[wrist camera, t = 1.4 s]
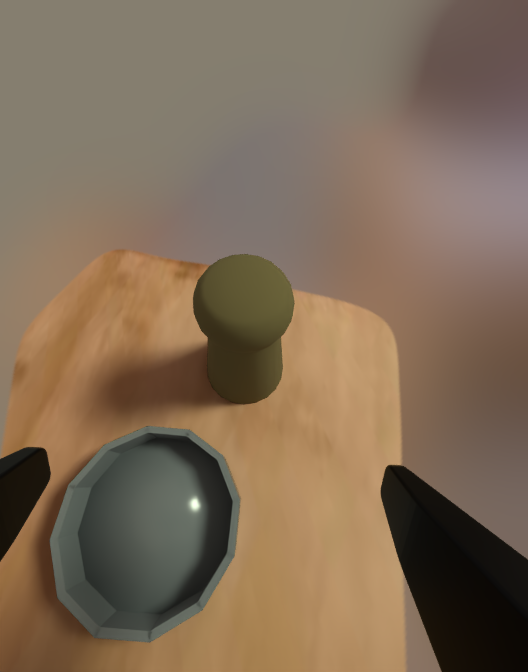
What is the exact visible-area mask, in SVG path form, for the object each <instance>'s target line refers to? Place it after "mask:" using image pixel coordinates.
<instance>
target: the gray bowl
mask: <svg viewBox="0 0 528 672" xmlns="http://www.w3.org/2000/svg"><path fill="white" fill-rule="evenodd" d="M240 502H241V497H240V495H239V492H238V490H237V487H236V485H235V482H234V479H233V477H232V474H231V472H230V469H229V467H228V464H227V461H226V459H225V457H224V456H223V455H222V454H220V453H219V452H218V451H216V450H215V449H214V448H212V447H211V446H210V445H209V444H207V443H206V442H205V441H203V440H202V439H201V438H200V437H198V436H197V435H196V434H194V433H193V432H192V431H190V430H187V429H176V428H165V427H153V426H146V427H144V428H142V429H140V430H137V431H135V432H133V433H130V434H128V435H126V436H124V437H121V438H119V439H117V440H114V441H112V442H110V443H108V444H105V445H104V446H103V447H102V448H101V449H100V450H99V451H98V453H97V454H96V455H95V456H94V457H93V458H92V459H91V460H90V461H89V463H88V464H87V465H86V466H85V467H84V468H83V469H82V470H81V472H80V473H79V474H78V475H77V476H76V477H75V478H74V479H73V480H72V482H71V483H70V484H69V485H68V488H67V491H66V493H65V496H64V499H63V502H62V505H61V508H60V511H59V514H58V517H57V520H56V523H55V526H54V529H53V532H52V535H51V538H50V547H51V555H52V562H53V569H54V577H55V584H56V591H57V598H58V599H59V600H60V601H61V602H62V604H63V605H64V606H65V607H66V608H67V609H68V610H69V611H70V612H71V613H72V614H73V615H74V616H75V617H76V619H77V620H78V621H79V622H80V623H81V624H82V625H83V626H84V627H85V628H86V629H87V630H88V631H89V632H90V634H91V635H92V636H93V637H94V638H102V639H114V640H127V641H139V642H151V641H153V640H155V639H156V638H158V637H160V636H161V635H163V634H164V633H166V632H168V631H169V630H171V629H173V628H174V627H176V626H177V625H179V624H181V623H182V622H184V621H186V620H187V619H189V618H191V617H192V616H194V615H195V614H197V613H199V612H200V611H202V610H203V608H204V607H205V605H206V603H207V602H208V600H209V598H210V596H211V595H212V593H213V591H214V590H215V588H216V586H217V585H218V583H219V581H220V580H221V578H222V576H223V575H224V573H225V571H226V570H227V568H228V566H229V564H230V563H231V561H232V559H233V558H234V556H235V550H236V542H237V532H238V522H239V512H240Z"/></svg>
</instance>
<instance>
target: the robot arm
mask: <svg viewBox="0 0 528 672" xmlns="http://www.w3.org/2000/svg"><path fill="white" fill-rule="evenodd" d="M50 475H51V472H50V466H49V461H48V456H47V452H46V450H45V449H44V448H41V447H26V448H23V449H21V450H19V451H17V452H14V453H12V454H10V455H8V456H6V457H4V458H1V459H0V561H1V560H2V558H3V557H4V555H5V554H6V552H7V551H8V549H9V548H10V546H11V545H12V543H13V542H14V540H15V539H16V537H17V535H18V534H19V532H20V530H21V529H22V527H23V525H24V523H25V522H26V520H27V518H28V517H29V515H30V513H31V512H32V510H33V508H34V506H35V505H36V503H37V501H38V500H39V498H40V496H41V494H42V493H43V491H44V489H45V488H46V486H47V484H48V482H49V480H50ZM381 499H382V502H383V506H384V509H385V513H386V517H387V520H388V524H389V527H390V531H391V534H392V538H393V541H394V545H395V548H396V552H397V555H398V558H399V561H400V564H401V567H402V570H403V573H404V575H405V578H406V580H407V583H408V585H409V588H410V591H411V593H412V596H413V598H414V601H415V604H416V606H417V609H418V611H419V614H420V617H421V619H422V622H423V624H424V627H425V629H426V632H427V635H428V637H429V640H430V643H431V645H432V648H433V650H434V653H435V656H436V658H437V661H438V663H439V666H440V668H441V671H442V672H528V560H527V559H526V558H525V557H524V556H522V555H521V554H520V553H518V552H517V551H516V550H514V549H513V548H512V547H510V546H509V545H508V544H506V543H505V542H504V541H502V540H501V539H500V538H499V537H497V536H496V535H495V534H493V533H492V532H491V531H489V530H488V529H486V528H485V527H484V526H483V525H481V524H480V523H478V522H477V521H476V520H475V519H473V518H472V517H470V516H469V515H468V514H467V513H465V512H464V511H463V510H461V509H460V508H459V507H458V506H456V505H455V504H454V503H452V502H451V501H450V500H448V499H447V498H446V497H444V496H443V495H442V494H440V493H439V492H438V491H436V490H435V489H434V488H432V487H431V486H430V485H428V484H427V483H426V482H424V481H423V480H422V479H420V478H419V477H418V476H416V475H415V474H414V473H412V472H411V471H410V470H408V469H407V468H406V467H404V466H401V465H388V466H387V467H386V469H385V473H384V477H383V481H382V486H381Z"/></svg>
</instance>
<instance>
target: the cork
mask: <svg viewBox="0 0 528 672" xmlns="http://www.w3.org/2000/svg"><path fill="white" fill-rule="evenodd" d="M193 309H194V315H195V318H196V320H197V322H198V324H199V327H200V329H201V331H202V332H203V333H204V334H205V335H206V336H207V337H208V354H207V370H208V378H209V380H210V383H211V385H212V387H213V388H214V390H215V391H216V392H217V393H218V394H219V395H220V396H221V397H223V398H225V399H227V400H229V401H230V402H234V403H240V404H249V403H256V402H258V401H260V400H262V399H264V398H267V397H268V396H269V395H270V394H271V393H272V392H273V391H274V390H275V389H276V387H277V386H278V384H279V382H280V380H281V376H282V369H283V364H282V347H281V336H282V335H283V334H284V333H285V331H286V329H287V327H288V326H289V324H290V322H291V319H292V316H293V309H294V297H293V292H292V288H291V284H290V282H289V281H288V279H287V278H286V276H285V275H284V273H283V272H282V271H281V270H280V269H279V268H278V267H277V266H275V265H274V264H273V263H272V262H271V261H268V260H266V259H264V258H262V257H259V256H254V255H248V254H240V255H232V256H229V257H225V258H223V259H220V260H218V261H217V262H215V263H214V264H212V265H211V266H209V267H208V269H207V270H206V271H205V272H204V273H203V275H202V276H201V277H200V278H199V280H198V282H197V285H196V288H195V291H194V295H193Z"/></svg>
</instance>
